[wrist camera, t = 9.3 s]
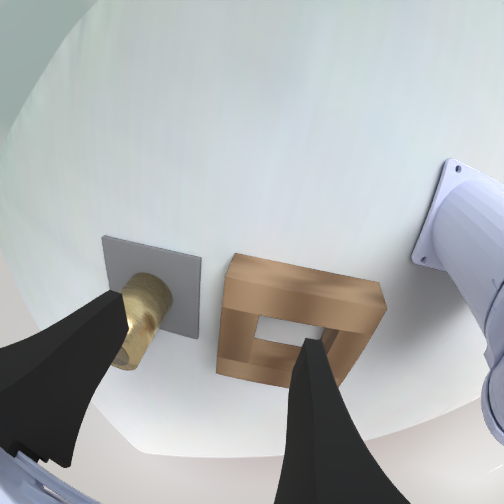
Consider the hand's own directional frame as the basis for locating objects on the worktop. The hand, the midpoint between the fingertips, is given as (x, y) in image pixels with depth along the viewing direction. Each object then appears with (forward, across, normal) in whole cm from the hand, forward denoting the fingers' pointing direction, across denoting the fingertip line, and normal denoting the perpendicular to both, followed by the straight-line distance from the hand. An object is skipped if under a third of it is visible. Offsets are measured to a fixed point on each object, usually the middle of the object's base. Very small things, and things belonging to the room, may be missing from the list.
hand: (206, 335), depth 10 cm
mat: (+10, +8, +8) cm, 15 cm away
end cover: (+10, +8, +8) cm, 15 cm away
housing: (+10, -5, +8) cm, 14 cm away
